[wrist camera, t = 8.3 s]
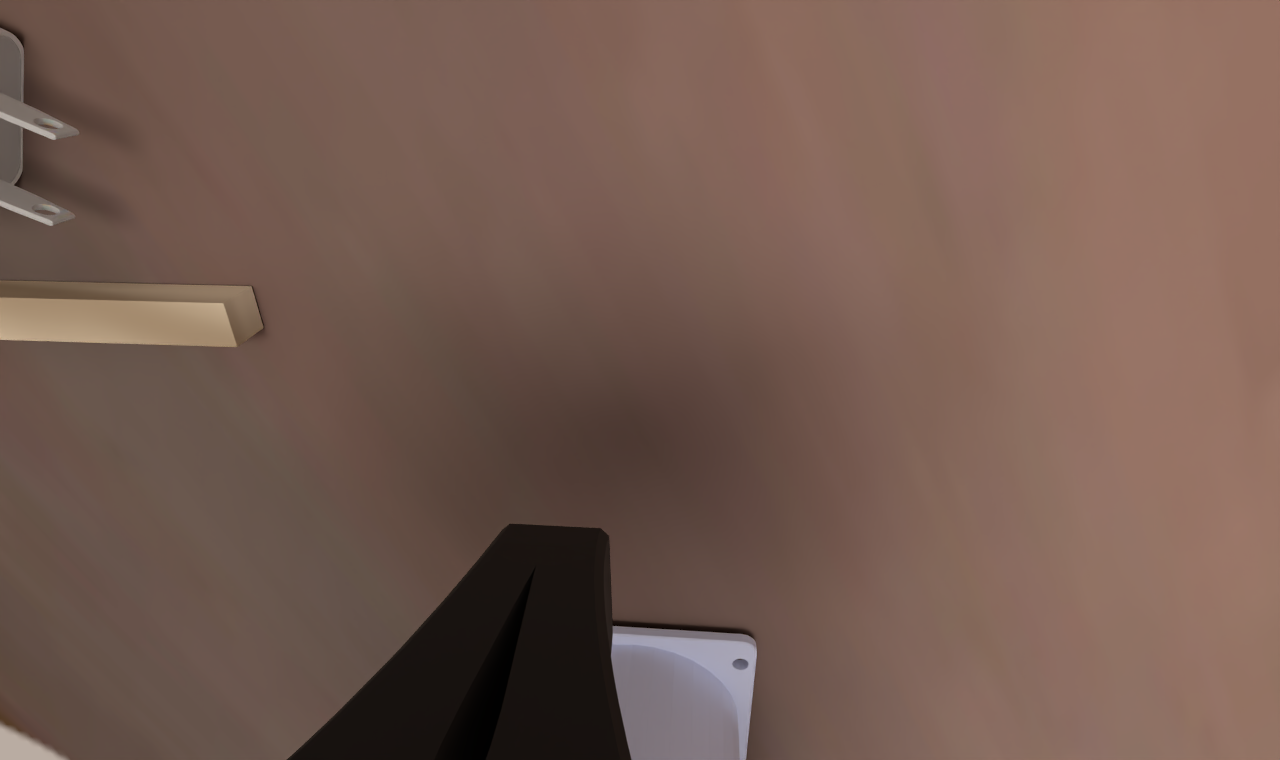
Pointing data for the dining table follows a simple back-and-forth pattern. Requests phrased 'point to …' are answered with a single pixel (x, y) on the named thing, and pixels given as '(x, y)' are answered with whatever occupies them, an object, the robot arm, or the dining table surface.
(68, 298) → the charger bay
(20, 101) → the usb wall charger
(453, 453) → the dining table surface
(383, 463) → the dining table surface
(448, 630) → the robot arm
